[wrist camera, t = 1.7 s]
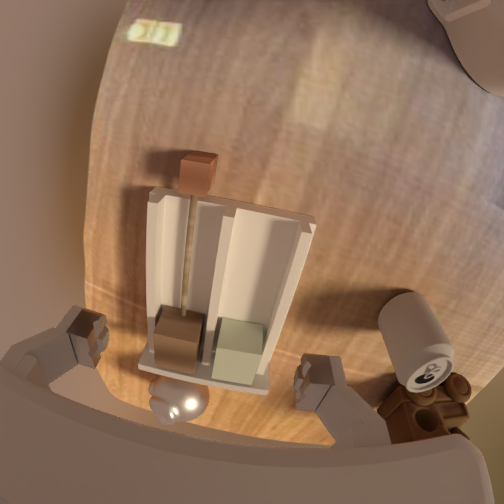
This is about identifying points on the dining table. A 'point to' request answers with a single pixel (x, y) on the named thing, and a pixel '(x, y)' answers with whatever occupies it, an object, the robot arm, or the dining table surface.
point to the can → (415, 342)
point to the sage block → (238, 351)
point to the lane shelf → (223, 273)
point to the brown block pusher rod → (185, 277)
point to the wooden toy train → (427, 411)
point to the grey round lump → (177, 399)
